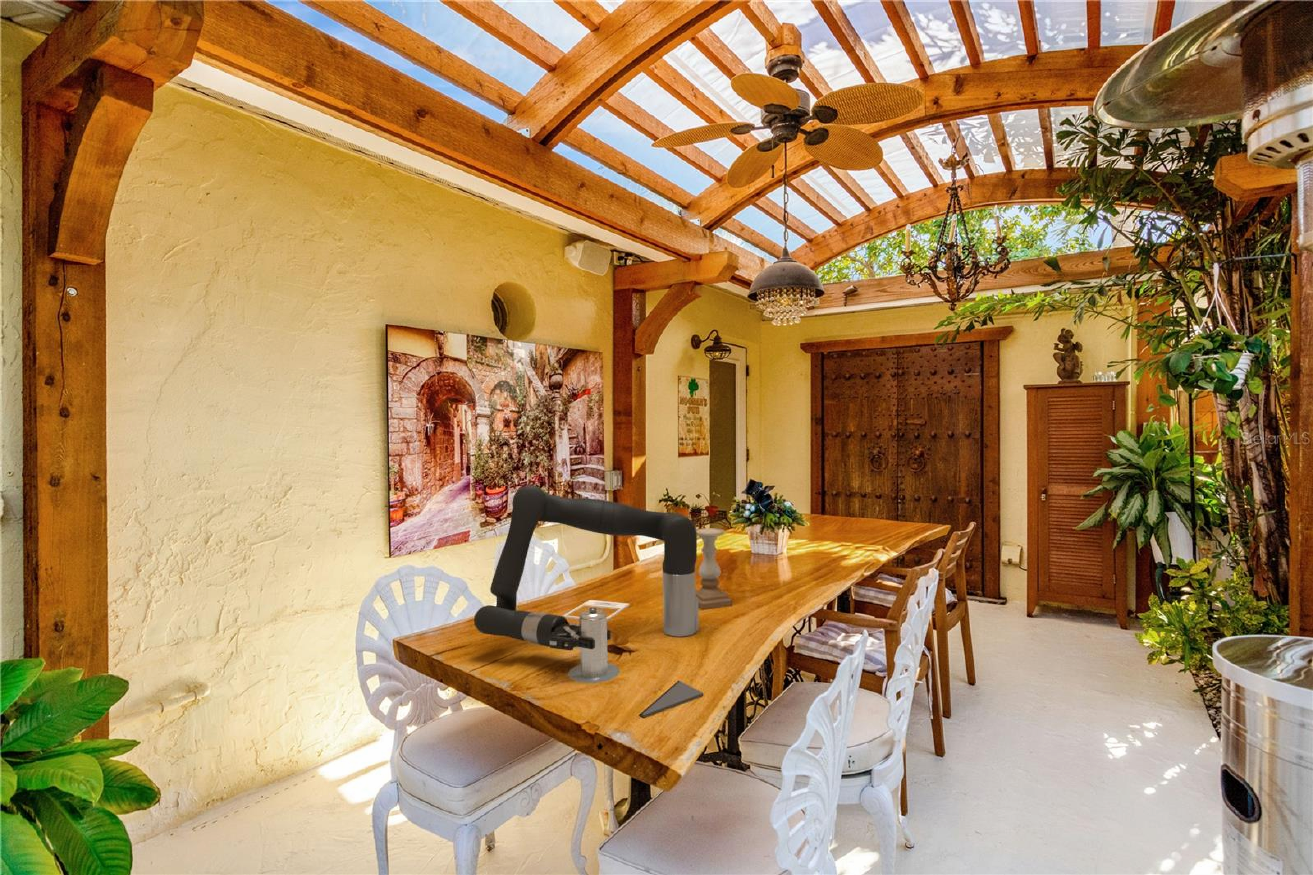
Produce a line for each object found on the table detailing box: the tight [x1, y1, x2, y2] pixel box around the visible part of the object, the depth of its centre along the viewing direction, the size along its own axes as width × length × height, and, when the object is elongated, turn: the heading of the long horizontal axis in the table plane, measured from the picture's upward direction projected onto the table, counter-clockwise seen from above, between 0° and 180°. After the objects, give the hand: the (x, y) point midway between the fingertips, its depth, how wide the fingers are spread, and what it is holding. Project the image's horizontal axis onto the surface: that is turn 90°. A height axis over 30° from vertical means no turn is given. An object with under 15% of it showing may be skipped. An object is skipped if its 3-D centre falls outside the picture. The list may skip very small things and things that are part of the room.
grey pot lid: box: [567, 662, 621, 684], centre depth 143 cm, size 12×12×3 cm
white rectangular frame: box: [562, 599, 631, 622], centre depth 194 cm, size 15×1×18 cm
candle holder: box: [695, 527, 733, 610], centre depth 200 cm, size 11×11×24 cm
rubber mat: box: [638, 680, 704, 719], centre depth 134 cm, size 16×16×1 cm
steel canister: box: [578, 607, 609, 678], centre depth 143 cm, size 6×6×15 cm
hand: (602, 639), depth 142 cm, fingers closed on steel canister, 6 cm apart
